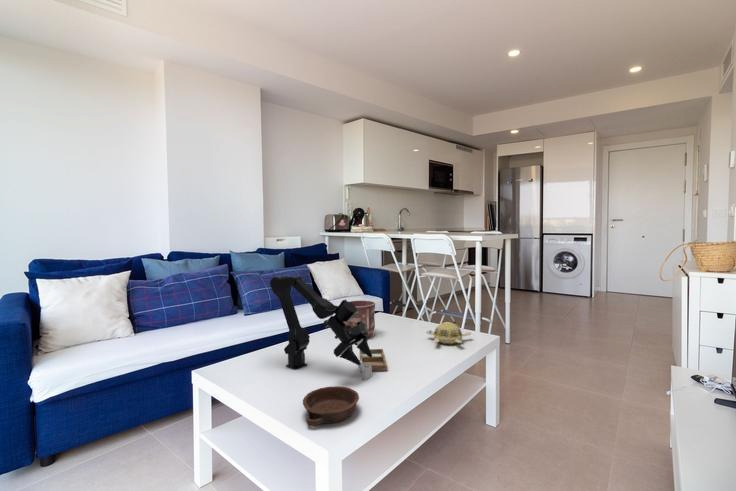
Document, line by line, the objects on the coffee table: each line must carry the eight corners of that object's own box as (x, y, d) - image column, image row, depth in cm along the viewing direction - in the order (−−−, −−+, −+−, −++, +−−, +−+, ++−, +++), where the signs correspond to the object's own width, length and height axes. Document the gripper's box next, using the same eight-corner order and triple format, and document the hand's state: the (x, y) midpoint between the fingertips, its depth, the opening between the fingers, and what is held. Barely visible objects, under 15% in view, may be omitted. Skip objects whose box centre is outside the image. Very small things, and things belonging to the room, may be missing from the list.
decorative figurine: (458, 353, 168) (458, 331, 167) (415, 346, 179) (415, 326, 178) (474, 337, 190) (474, 318, 190) (435, 332, 201) (435, 314, 201)
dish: (286, 422, 111) (285, 406, 111) (330, 393, 130) (329, 379, 130) (333, 437, 102) (332, 420, 102) (373, 404, 121) (372, 389, 121)
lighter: (368, 375, 145) (368, 355, 144) (372, 376, 144) (371, 356, 143) (357, 381, 139) (356, 360, 139) (360, 382, 138) (360, 361, 138)
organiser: (387, 371, 148) (387, 365, 148) (360, 372, 148) (360, 366, 148) (382, 354, 169) (382, 348, 169) (359, 355, 168) (359, 349, 168)
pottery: (375, 341, 188) (375, 306, 188) (341, 341, 189) (340, 306, 188) (375, 332, 206) (375, 300, 205) (344, 332, 206) (343, 300, 206)
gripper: (339, 321, 134) (367, 355, 129) (363, 310, 151) (389, 340, 146) (322, 340, 138) (348, 374, 133) (348, 328, 155) (372, 357, 150)
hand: (365, 360), depth 141 cm, fingers open, 9 cm apart
